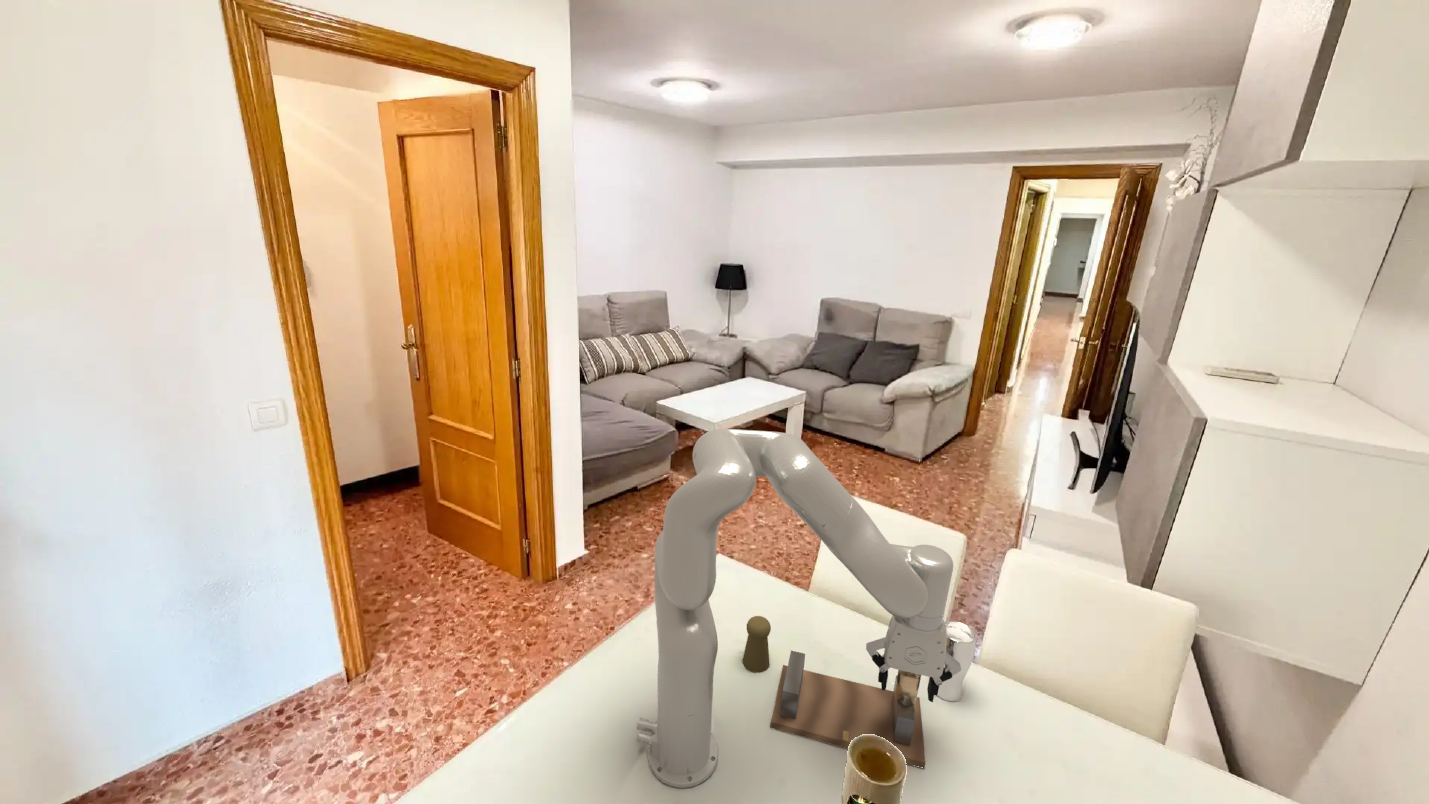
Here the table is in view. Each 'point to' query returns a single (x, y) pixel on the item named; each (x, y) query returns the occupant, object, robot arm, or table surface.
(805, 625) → the table surface
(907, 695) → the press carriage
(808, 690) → the base
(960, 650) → the beer glass
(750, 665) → the olive brown pawn
